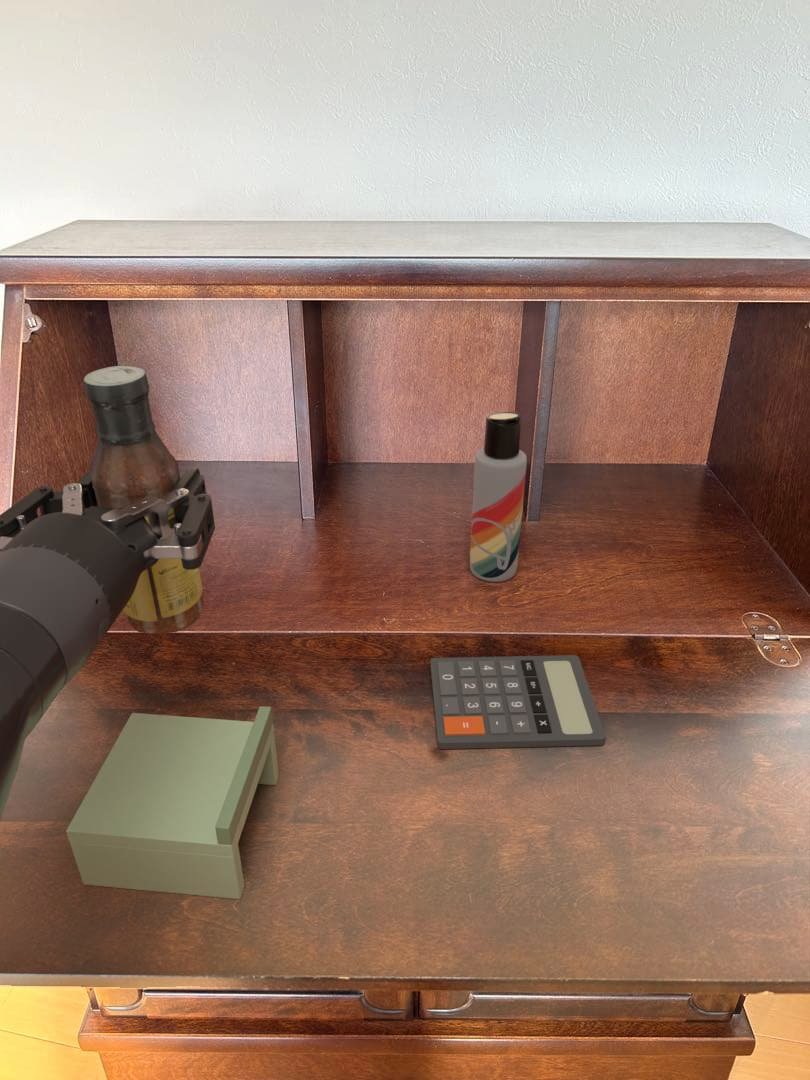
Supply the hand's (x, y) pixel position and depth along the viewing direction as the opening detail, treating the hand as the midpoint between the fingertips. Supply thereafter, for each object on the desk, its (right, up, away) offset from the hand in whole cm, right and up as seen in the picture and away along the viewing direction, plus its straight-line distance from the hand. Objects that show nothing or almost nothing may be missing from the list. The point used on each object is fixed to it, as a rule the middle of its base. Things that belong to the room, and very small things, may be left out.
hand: (151, 477), depth 60 cm
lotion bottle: (+30, -8, +36) cm, 48 cm away
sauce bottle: (0, -11, +4) cm, 11 cm away
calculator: (+29, -20, +16) cm, 39 cm away
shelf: (+2, -28, +4) cm, 28 cm away
